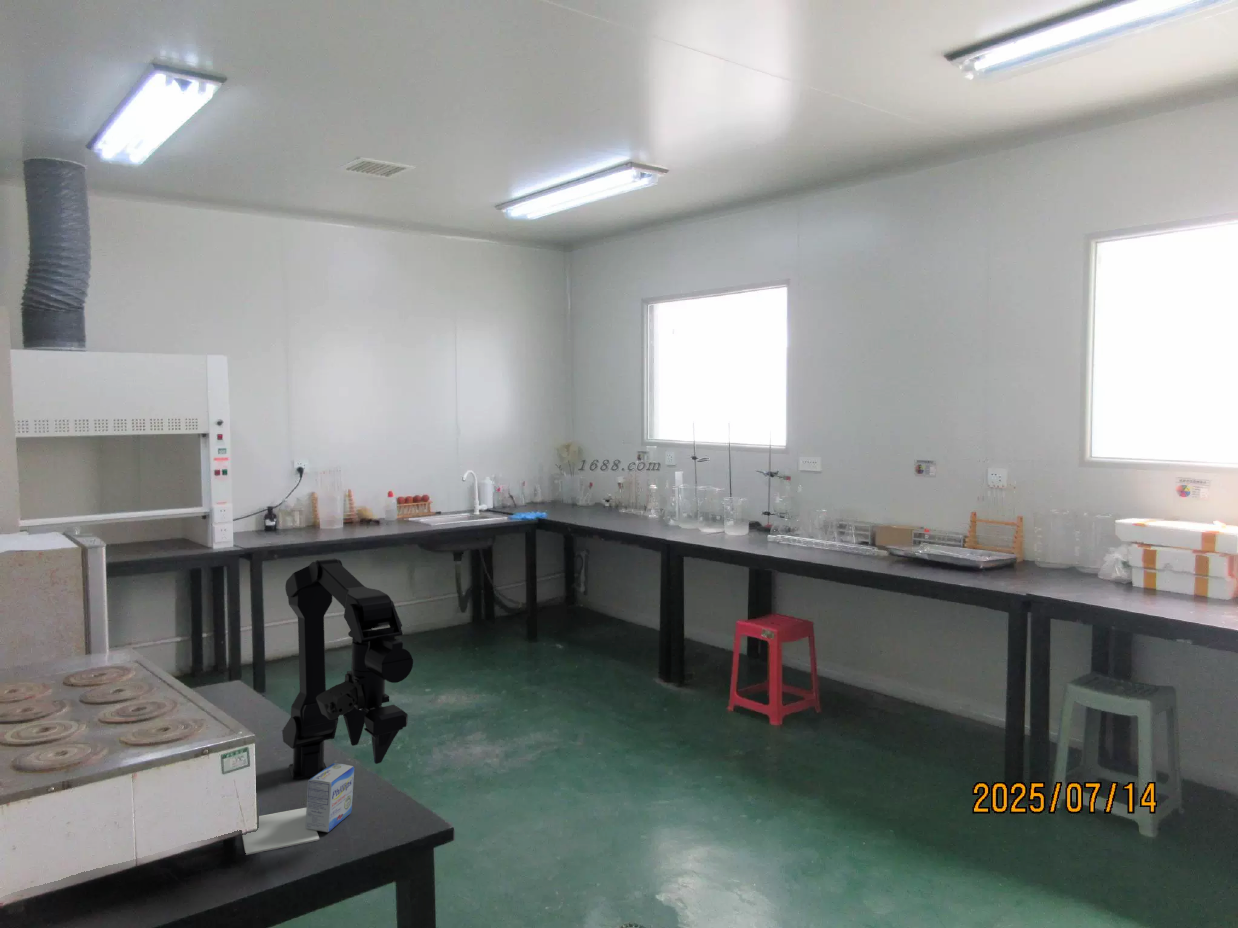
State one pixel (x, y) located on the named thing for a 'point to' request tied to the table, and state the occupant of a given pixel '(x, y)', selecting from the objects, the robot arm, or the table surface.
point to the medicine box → (329, 797)
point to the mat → (279, 832)
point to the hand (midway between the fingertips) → (366, 753)
